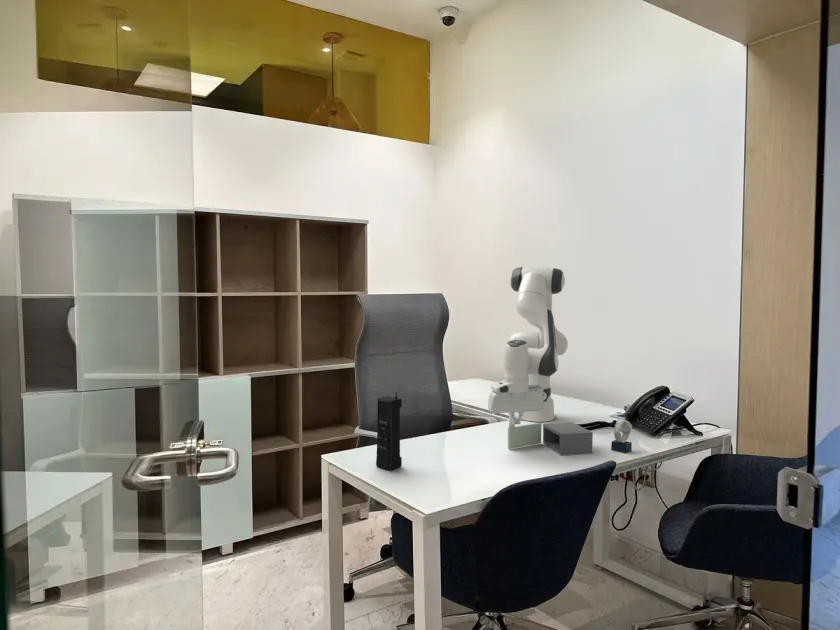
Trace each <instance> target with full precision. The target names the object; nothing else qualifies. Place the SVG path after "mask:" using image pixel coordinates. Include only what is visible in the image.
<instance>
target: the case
mask: <svg viewBox="0 0 840 630" xmlns="http://www.w3.org/2000/svg"><path fill="white" fill-rule="evenodd" d="M593 434H594V433H593V431H591V430H589V429H588V428H587V429H586V428H585V427H583V426H581V425H579V424H577V423H575V422H573V421H569V422H568V421H567V422H552V423H551V422H550V423H548V422H547V423H542V444H543V445H544V446H546V447H547V448H549V449H551V451H554V452H555V453H557V455H559V456H572V455H586V454H587V455H589V454H593V443H594V441H593V440H594V439H593Z"/></svg>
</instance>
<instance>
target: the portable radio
mask: <svg viewBox="0 0 840 630" xmlns="http://www.w3.org/2000/svg"><path fill="white" fill-rule="evenodd" d="M397 394H398V393H397V392H395V397H393V396H381V397H377V426H376V427H377V428H376V429H377V431H376V432H377V435H376V458H375V459H376V462H375V465H376V467H379V468H380V469H384V470H386V471H390V472H391V471H394V470H396V469H397V470H398V469H399V468H401V467H402V463H403V462H402V459H403V458H402V456H401V408H403V406H402V405H403V402H402V401H403V400H402V398H398V396H397Z"/></svg>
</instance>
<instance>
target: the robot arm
mask: <svg viewBox="0 0 840 630" xmlns="http://www.w3.org/2000/svg"><path fill="white" fill-rule="evenodd" d="M509 282H510V287H511V289H512V290H513V291H514V292H517V296H516V297H517V298H516V310H517V312H518V314H519V315H520V316H521V317H522V318H523V319H525V320H526V321H527V322H528V324H530V325H531V326H534V327H536V328H537V329H539V331H538V330H537V331H518V332H513V333H512V334H511V335H510V336H509V339H508V342H506V344H505V349H504V355H503V356H504V357H503V367H504V374H503V375H504V376H503V380H501V381H498V382H495V383H492V384H491V386H490V389H491V391H490V393H489V395H488V401H487V403H488V404H487V410H488V411H489V412H490V413H491V414H504V413H505V414H508V417H509V416H510V417H511V419H512V424H513V425H514V424H515V425H521V421H528V422H536V423H542V422H543V423H546V422H551V421H553V420H554V419H556V418H558V416H557V414H555V406H554V404H555V403H554V399H553V398H552V397H551V396H552V388H551V376H552V375H554V374H555V373H556V372H557V371H558V369H559V357H558V356H563V355H564V354H565V353H566V351H567V349H568V345H569V343H568V339H567V337H566V335H565V334H563V333H562V332H560V331H559V329H558V328H557V327H556V326H555V319H554V314H553V312H552V311H553V295H555V294H559V293H561V292H562V291H563V288H564V286H565V284H566V277H565V274H564V272H563V270H562V269H559V268H556V267H554V268H551V267H544V266H537V267H535V266H529V267H523V266H518V267H515V268H514V269H513V270H512V272H511V273H510V279H509ZM513 415H515V418H514V417H513Z"/></svg>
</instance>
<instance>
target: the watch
mask: <svg viewBox="0 0 840 630" xmlns="http://www.w3.org/2000/svg"><path fill="white" fill-rule="evenodd" d="M632 429H633V426H632V424H631V422H630V421H628V420H626V419H618V420H617V421H616V422H615V425H614V429H613V430H614V432H613V435H614V440H613V441H611V445H610V446H611V449H610V451H614V452H617V453H623V454H628V453H630V452H632V449H633V448H632V443H633V442H632V441H628V440H629V437H630V434H631V432H632Z"/></svg>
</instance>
